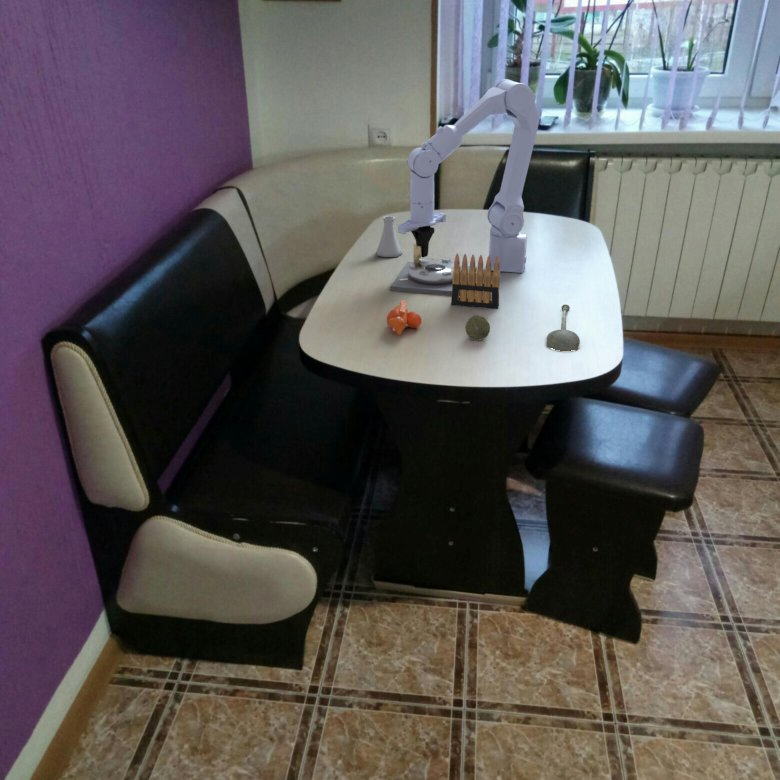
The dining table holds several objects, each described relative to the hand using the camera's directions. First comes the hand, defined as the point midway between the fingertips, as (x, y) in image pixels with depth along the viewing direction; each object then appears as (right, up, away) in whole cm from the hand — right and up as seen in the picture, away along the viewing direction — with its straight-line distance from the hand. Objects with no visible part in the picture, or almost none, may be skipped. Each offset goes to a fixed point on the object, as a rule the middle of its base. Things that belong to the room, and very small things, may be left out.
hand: (422, 256), depth 180 cm
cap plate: (+3, -6, -1) cm, 7 cm away
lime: (+10, -23, -30) cm, 39 cm away
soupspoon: (+29, -21, -27) cm, 45 cm away
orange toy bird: (-5, -20, -25) cm, 33 cm away
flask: (-8, +3, +17) cm, 19 cm away
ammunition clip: (+11, -14, -15) cm, 24 cm away
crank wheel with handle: (+3, -5, -2) cm, 6 cm away
